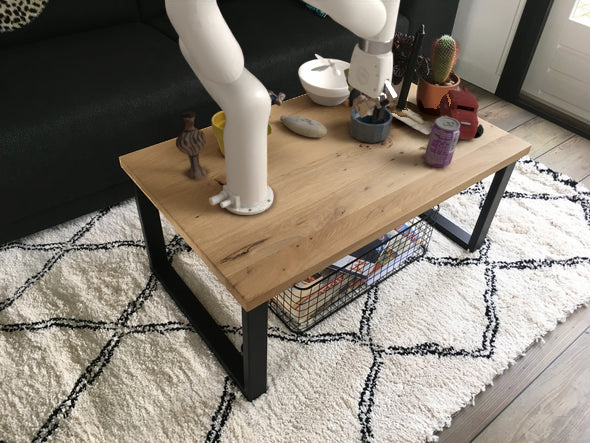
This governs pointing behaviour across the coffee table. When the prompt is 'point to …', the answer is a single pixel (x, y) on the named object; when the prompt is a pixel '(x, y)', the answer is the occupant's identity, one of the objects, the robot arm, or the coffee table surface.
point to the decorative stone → (304, 126)
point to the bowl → (325, 82)
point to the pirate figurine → (277, 102)
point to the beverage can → (442, 141)
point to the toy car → (462, 112)
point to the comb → (415, 121)
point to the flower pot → (219, 128)
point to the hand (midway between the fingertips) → (365, 112)
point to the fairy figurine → (326, 65)
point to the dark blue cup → (370, 127)
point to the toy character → (364, 105)
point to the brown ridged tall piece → (192, 145)
